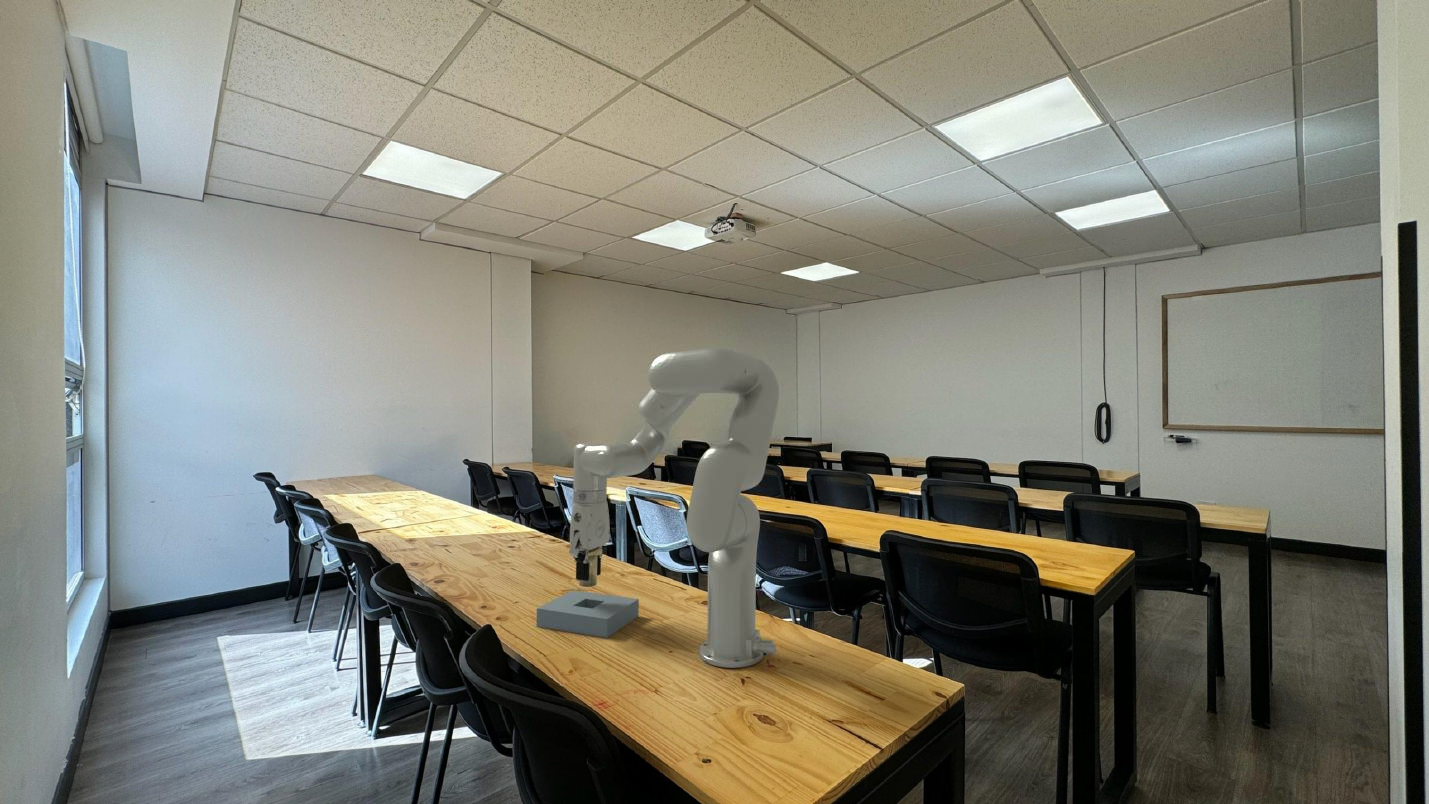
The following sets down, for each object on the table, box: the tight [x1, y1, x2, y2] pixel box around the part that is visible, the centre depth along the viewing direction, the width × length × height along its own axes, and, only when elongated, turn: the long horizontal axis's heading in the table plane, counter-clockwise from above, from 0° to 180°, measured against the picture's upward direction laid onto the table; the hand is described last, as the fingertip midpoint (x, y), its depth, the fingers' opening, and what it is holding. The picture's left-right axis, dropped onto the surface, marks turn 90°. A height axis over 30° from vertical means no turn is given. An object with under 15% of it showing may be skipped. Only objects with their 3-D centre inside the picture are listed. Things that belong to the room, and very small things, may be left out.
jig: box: [536, 589, 640, 639], centre depth 131 cm, size 18×14×4 cm
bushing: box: [578, 546, 603, 588], centre depth 131 cm, size 6×6×8 cm
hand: (588, 576), depth 131 cm, fingers closed on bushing, 4 cm apart
